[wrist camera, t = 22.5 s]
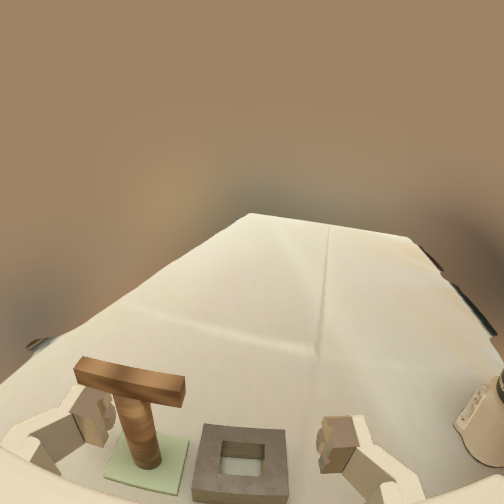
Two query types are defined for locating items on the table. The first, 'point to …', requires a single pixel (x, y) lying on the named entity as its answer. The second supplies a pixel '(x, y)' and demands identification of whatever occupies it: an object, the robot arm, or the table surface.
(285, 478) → the block
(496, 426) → the robot arm
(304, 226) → the table surface
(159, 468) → the key mat
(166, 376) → the chuck key
